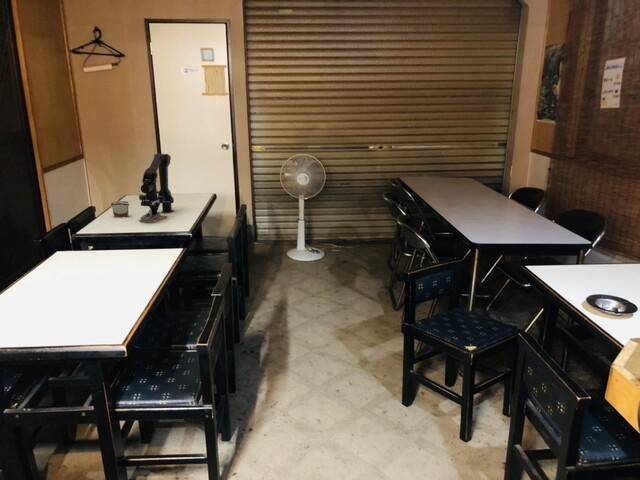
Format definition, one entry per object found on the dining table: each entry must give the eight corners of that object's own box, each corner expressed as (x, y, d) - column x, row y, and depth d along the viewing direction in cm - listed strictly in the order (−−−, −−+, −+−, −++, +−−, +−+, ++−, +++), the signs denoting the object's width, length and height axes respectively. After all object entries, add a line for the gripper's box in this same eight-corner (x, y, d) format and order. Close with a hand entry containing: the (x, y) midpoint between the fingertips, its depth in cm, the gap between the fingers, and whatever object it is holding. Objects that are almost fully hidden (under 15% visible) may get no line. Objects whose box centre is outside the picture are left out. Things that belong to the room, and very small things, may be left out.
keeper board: (152, 216, 331) (151, 206, 329) (166, 217, 328) (165, 207, 326) (139, 222, 318) (137, 211, 316) (153, 223, 315) (152, 212, 313)
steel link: (150, 214, 327) (149, 211, 326) (160, 215, 324) (160, 212, 323) (141, 220, 318) (140, 217, 317) (151, 221, 316) (151, 218, 315)
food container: (134, 215, 336) (132, 200, 333) (129, 217, 330) (128, 202, 327) (116, 215, 337) (114, 200, 334) (112, 217, 331) (110, 202, 328)
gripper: (150, 187, 331) (152, 209, 335) (132, 192, 314) (135, 216, 318) (164, 187, 327) (166, 210, 332) (147, 193, 310) (150, 217, 315)
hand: (154, 213), depth 324 cm, fingers closed on steel link, 2 cm apart
